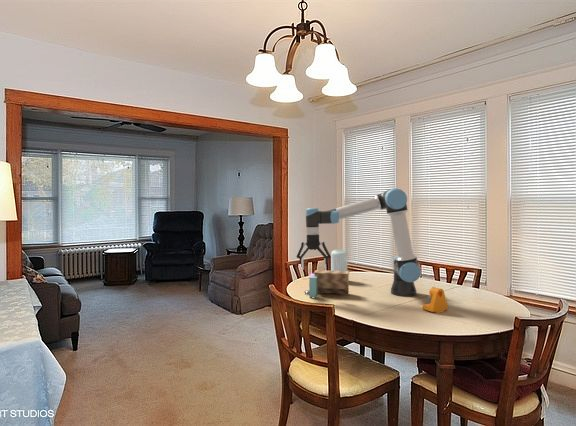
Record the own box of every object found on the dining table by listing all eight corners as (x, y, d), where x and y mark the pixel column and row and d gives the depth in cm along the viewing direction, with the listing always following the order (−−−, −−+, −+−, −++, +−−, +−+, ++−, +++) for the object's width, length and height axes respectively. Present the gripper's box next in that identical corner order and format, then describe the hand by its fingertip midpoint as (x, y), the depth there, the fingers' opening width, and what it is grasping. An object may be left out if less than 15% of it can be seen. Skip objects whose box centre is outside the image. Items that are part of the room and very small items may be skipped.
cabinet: (349, 293, 230) (349, 271, 229) (348, 296, 222) (348, 273, 221) (315, 291, 235) (315, 270, 234) (313, 295, 226) (313, 272, 226)
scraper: (318, 293, 230) (318, 274, 230) (316, 298, 219) (316, 277, 219) (312, 293, 231) (312, 274, 231) (309, 297, 220) (309, 277, 220)
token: (312, 293, 232) (312, 290, 231) (310, 295, 227) (310, 292, 227) (305, 293, 233) (305, 290, 233) (303, 294, 228) (303, 291, 228)
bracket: (436, 307, 199) (436, 284, 198) (447, 310, 192) (447, 287, 192) (421, 310, 194) (421, 287, 193) (432, 313, 187) (432, 290, 187)
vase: (328, 280, 270) (328, 249, 269) (342, 279, 273) (342, 248, 272) (335, 283, 259) (335, 251, 258) (350, 282, 262) (350, 250, 261)
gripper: (334, 233, 221) (335, 268, 222) (293, 233, 227) (294, 268, 228) (333, 234, 214) (334, 271, 215) (290, 234, 220) (292, 270, 220)
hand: (313, 269), depth 221 cm, fingers open, 13 cm apart
